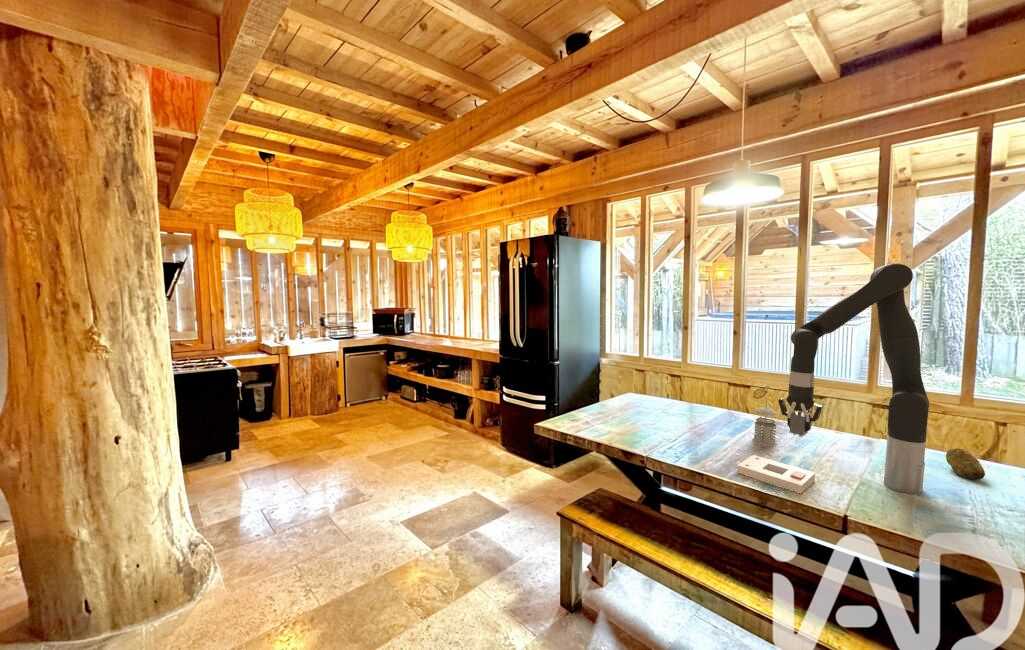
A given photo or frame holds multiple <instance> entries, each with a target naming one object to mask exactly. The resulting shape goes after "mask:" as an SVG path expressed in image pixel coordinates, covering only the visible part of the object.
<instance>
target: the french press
mask: <svg viewBox="0 0 1025 650" xmlns="http://www.w3.org/2000/svg"><path fill="white" fill-rule="evenodd" d="M764 389H766V392H768V390H770V389H771V386H769V385H765V387H764ZM765 399H766V400H765V401H766V402H765V407H761V406H760V407H757V408H755V410H754V411H755V412H756V413H757V414H761V415H765V417H762V416H759V417H758V418H755V422H754V432H753V433H754V435H753V436H754V437H753V438H751V442H752V443H754V444H756V445H759V446H763V447H777V446H778V445H779V443H778V442H777V441H776V432H777V430H776V429H777V424H775V423H776V421H775V420H774V419H771V418H767V416H775V415H777V414H778V412H777V411H776V410H774V409H773V408H770V407H767V406H768V398H765Z"/></svg>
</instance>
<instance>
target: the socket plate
mask: <svg viewBox="0 0 1025 650" xmlns="http://www.w3.org/2000/svg"><path fill="white" fill-rule="evenodd" d="M737 472H738V473H741V474H744V475H747V476H749V477H748V478H750V477H752V478H751V479H753V478H755V479H754V480H756V479H758V480H757V481H759V480H761V481H760V482H763V481H764V482H763V483H766V482H767V483H766V484H769V483H770V484H769V485H772V484H773V485H772V486H775V485H777V486H776V487H778V486H780V487H779V488H781V487H783V488H782V489H784V488H786V489H785V490H787V489H789V490H788V491H790V490H791V491H790V492H793V491H795V492H794V493H796V492H797V493H796V494H799V493H800V494H799V495H802V494H803V493H804V492H805V491H806V490H807V489H808V488H809V487H810V486H811V485H812V484H814V482H815V481H816V473H815V472H813V471H810V470H808V469H807V470H806V469H803V468H799V467H796V466H793V465H789V464H786V463H783V462H779V461H775V460H773V459H768V458H765V457H762V456H758V455H755V454H752V455H751V456H748V458H746V459H744V460H743V461H741V462H740V463H738V464H737V465H736V473H737ZM738 473H737V474H738ZM741 474H740V475H741ZM744 475H743V476H744ZM747 476H746V477H747ZM806 488H807V489H806ZM804 490H805V491H804ZM803 491H804V492H803ZM802 492H803V493H802ZM801 493H802V494H801Z"/></svg>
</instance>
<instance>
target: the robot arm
mask: <svg viewBox="0 0 1025 650" xmlns="http://www.w3.org/2000/svg"><path fill="white" fill-rule="evenodd" d="M913 278H914V273H913V271H912V269H911V268H910V267H909V266H907V265H905V264H902V263H890V264H889V263H888V264H885V265H881V266H878V267H877V268H876V269H874V270H873V272H872V273H871V275H870V277H869V281H868V282H867V283H866V284H865V285H863V286H862V287H860V289H858V290H857V291H854V292H853V293H852V294H850V295H849V296H847V297H845V298H843V299H841V300H839V301H838V302H837V303H835V304H833V305H831V306H830V307H829V308H827V309H825V310H824V311H823V312H822V313H820V314H819V315H817V316H816V317H815V318H813V319H812V320H810V321H808V322H806V323H804V324H803V325H800V327H799V326H798V328H796V329H795V330H794V331H793V332H792V333H791V335H790V341H791V343H792V344H793V345H794V346H793V347H794V348H793V355H792V357H791V360H790V370H789V371H790V372H789V377H788V392H787V393H788V396H787V397H786V398H784V397H782V398H779V399H778V400H777V401H778V405H779V409H780V412H781V415H782V416H785V417H787V421H786V422H787V426H788V428H789V429H790V417H791V413H792V414H793V413H794V412H802V413H803V414H804V416H806V422H805V431H806V432H809V431H810V430H811V429H812V422H814V423H815V422H817V421H818V420H819V419H820V416H821V413H822V412H823V410H824V406H823V405H822V404H821V405H819V404H818V403H815V400H814V391H815V359H816V355H817V352H818V351H817V350H818V348H819V339H821V337H824V336H825V335H828V334H831V333H834V332H835V331H837V330H838V329H840V328H841V327H842V326H844V325H845V324H847V323H848V322H849V321H851V320H852V319H854V318H856V317H857V316H858V315H860V314H861V313H862V312H863V311H865V310H867V309H868V308H870V307H871V306H873V305H874V304H876V308H877V317H878V318H877V319H878V328H879V337H880V343H881V348H882V349H881V350H882V353H883V356H884V359H885V362H886V363H887V366H888V368H889V372H890V375H891V385H892V386H891V387H892V388H891V390H892V392H891V393H892V394H891V398H890V400H889V403H888V411H887V412H888V414H887V437H886V448H885V462H884V463H885V464H884V474H883V484H884V485H885V487H888V488H889V489H891V490H894V491H897V492H900V493H906V494H912V495H918V496H921V494H922V492H923V489H924V477H925V467H926V462H925V455H926V454H925V453H926V444H927V434H928V433H927V430H928V429H927V428H928V418H929V409H930V401H929V398H928V394H927V392H926V390H925V385H924V382H923V378H922V373H921V370H922V369H921V365H922V364H921V363H922V362H921V361H922V359H921V358H922V357H921V345H920V338H919V334H918V333H919V332H918V329H917V326H916V324H915V321H914V320H913V318H912V315H911V314H910V312H909V310H908V307H907V306H906V301H905V288H906V289H907V287H908V286H910V284H911V283H912V281H913ZM787 404H788V405H789V406H790V408H789V410H788V409H787ZM812 408H814V414H813V416H812V413H811V409H812Z"/></svg>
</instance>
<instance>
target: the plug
mask: <svg viewBox="0 0 1025 650" xmlns="http://www.w3.org/2000/svg"><path fill="white" fill-rule="evenodd" d="M805 422H806V416H804V414H803V412H801V411H795V412H794V413H793V414H792V413H791V417H790V428H789V433H791V434H792V435H793V436H794V435H795V436H796V435H798V437H800V438H803V437H805V435H806V434H808V432H809V431H808V432H806V431H805Z"/></svg>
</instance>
